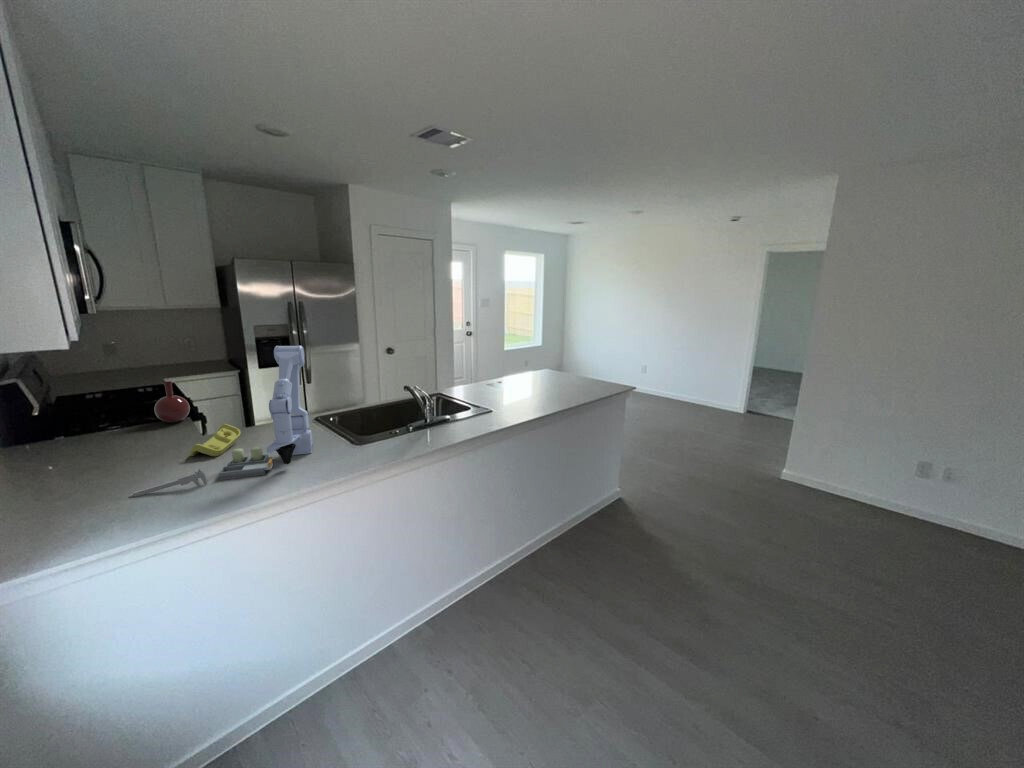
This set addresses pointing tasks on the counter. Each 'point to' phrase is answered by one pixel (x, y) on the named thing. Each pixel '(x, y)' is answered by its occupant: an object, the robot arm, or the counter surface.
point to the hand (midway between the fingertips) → (287, 463)
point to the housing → (236, 468)
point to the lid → (260, 466)
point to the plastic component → (218, 441)
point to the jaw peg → (238, 455)
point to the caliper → (175, 483)
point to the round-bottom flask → (171, 406)
